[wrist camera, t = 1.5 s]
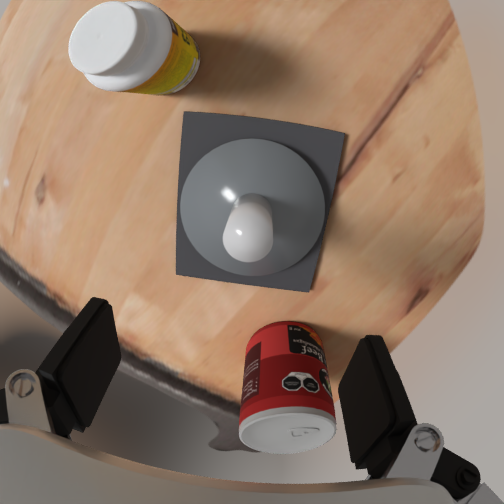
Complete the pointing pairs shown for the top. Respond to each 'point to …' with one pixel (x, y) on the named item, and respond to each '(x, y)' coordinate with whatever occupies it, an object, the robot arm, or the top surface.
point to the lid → (252, 207)
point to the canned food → (286, 391)
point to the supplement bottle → (133, 49)
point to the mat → (238, 127)
